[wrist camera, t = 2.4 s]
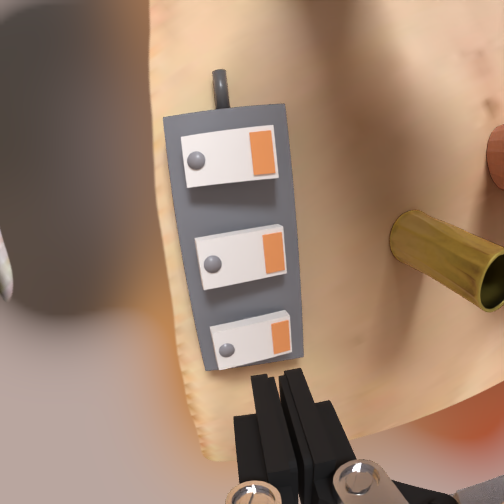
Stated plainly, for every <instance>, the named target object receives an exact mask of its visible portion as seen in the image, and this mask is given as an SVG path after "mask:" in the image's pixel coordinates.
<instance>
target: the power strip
mask: <svg viewBox="0 0 504 504" xmlns="http://www.w3.org/2000/svg"><path fill="white" fill-rule="evenodd" d="M212 74H213V83H214V93H215V102H216V110H208V111H201V112H194V113H187V114H181V115H174V116H168V117H163V123H164V132H165V141H166V150H167V158H168V166H169V173H170V181H171V188H172V195H173V202H174V209H175V215H176V222H177V228H178V234H179V240H180V246H181V252H182V258H183V263H184V269H185V274H186V280H187V285H188V290H189V296H190V301H191V306H192V311H193V316H194V320H195V325H196V330H197V335H198V339H199V344H200V348H201V353H202V357H203V362H204V366H205V370H206V371H211V370H219V368H218V365H217V362H216V357H215V352H214V347H213V342H212V337H211V331H210V327H211V326H216V325H220V324H225V323H230V322H234V321H239V320H243V319H248V318H252V317H257V316H261V315H265V314H270V313H274V312H278V311H282V310H286V312H287V313H288V314H289V315H290V326H291V342H292V352H290V353H287V354H283V355H279V356H276V357H272V358H268V359H264V360H260V361H256V362H252V363H248V364H244V365H240V366H236V367H243V366H251V365H258V364H264V363H271V362H277V361H283V360H289V359H295V358H300V357H304V351H303V325H302V304H301V285H300V268H299V252H298V238H297V224H296V212H295V199H294V188H293V176H292V166H291V155H290V145H289V136H288V126H287V117H286V109H285V104H269V105H256V106H244V107H234V108H230V105H229V96H228V86H227V77H226V70H223V69H220V70H215V71H213V72H212ZM266 125H273V127H274V136H275V145H276V155H277V165H278V175H279V178H272V179H261V180H251V181H241V182H232V183H223V184H214V185H206V186H198V187H190V188H187V183H186V176H185V168H184V160H183V152H182V144H181V137H183V136H189V135H195V134H202V133H208V132H215V131H223V130H230V129H239V128H247V127H256V126H266ZM274 224H279V225H281V226H283V231H284V243H285V255H286V268H287V273H286V274H281V275H276V276H272V277H267V278H262V279H257V280H252V281H247V282H243V283H238V284H233V285H228V286H223V287H218V288H213V289H207V290H204V289H203V286H202V282H201V276H200V270H199V264H198V258H197V252H196V246H195V239H194V238H198V237H203V236H209V235H215V234H221V233H226V232H232V231H238V230H244V229H250V228H256V227H262V226H268V225H274ZM236 367H232V368H236ZM227 369H228V368H227Z"/></svg>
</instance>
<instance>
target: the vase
mask: <svg viewBox="0 0 504 504" xmlns="http://www.w3.org/2000/svg"><path fill="white" fill-rule="evenodd" d="M390 247H391V251H392V253H393V255H394V256H395V258H396V259H397V260H399V261H400V262H402V263H405V264H408V265H409V266H411V267H413V268H415V269H416V270H418V271H420V272H422V273H424V274H426V275H428V276H430V277H431V278H433V279H435V280H436V281H438V282H440V283H441V284H443V285H445V286H446V287H448V288H449V289H451V290H452V291H454V292H456V293H457V294H459V295H460V296H462V297H463V298H465V299H467V300H468V301H470V302H471V303H473V304H475V305H476V306H478V307H479V308H480V309H482V310H483V311H485V312H494V311H496V310H497V309H499V308H500V307H502V306H503V305H504V247H502V246H500V245H497V244H495V243H492V242H490V241H488V240H485V239H483V238H480V237H478V236H475V235H473V234H471V233H469V232H466V231H464V230H462V229H460V228H458V227H456V226H453V225H451V224H448V223H446V222H444V221H441V220H438V219H435V218H433V217H430V216H428V215H427V214H425V213H424V212H422V211H420V210H412V211H408V212H406V213H404V214H402V215H401V216H400V217H399V218H398V219H397V220H396V222H395V223H394V225H393V227H392V230H391V234H390Z"/></svg>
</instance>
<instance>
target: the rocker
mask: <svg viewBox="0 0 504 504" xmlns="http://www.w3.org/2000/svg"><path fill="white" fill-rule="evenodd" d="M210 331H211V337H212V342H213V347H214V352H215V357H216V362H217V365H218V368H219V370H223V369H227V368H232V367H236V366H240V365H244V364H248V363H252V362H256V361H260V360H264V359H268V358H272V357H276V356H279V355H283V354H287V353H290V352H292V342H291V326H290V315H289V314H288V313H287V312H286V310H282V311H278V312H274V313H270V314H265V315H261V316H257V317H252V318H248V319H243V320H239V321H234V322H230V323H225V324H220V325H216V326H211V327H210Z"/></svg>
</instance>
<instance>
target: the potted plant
mask: <svg viewBox="0 0 504 504" xmlns="http://www.w3.org/2000/svg"><path fill="white" fill-rule="evenodd" d="M487 163H488V167H489V172H490V175H491V177H492V179H493V181H494V183H495V184H496V185H497V186H498V188H500V189H502V190H504V124H503V125H501V126H498V127H496V128H495V129H494V131H493V132H492V133H491V136H490V138H489V141H488V148H487Z"/></svg>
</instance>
